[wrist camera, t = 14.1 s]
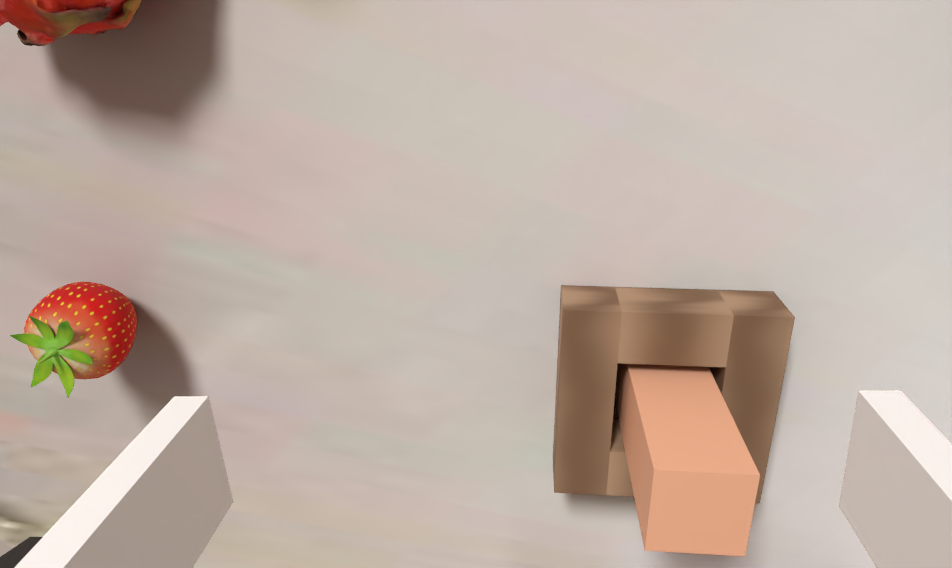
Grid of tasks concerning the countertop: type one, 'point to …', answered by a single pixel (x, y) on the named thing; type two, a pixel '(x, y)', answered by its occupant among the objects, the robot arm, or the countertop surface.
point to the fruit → (79, 332)
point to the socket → (661, 343)
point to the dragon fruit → (65, 17)
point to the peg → (685, 461)
